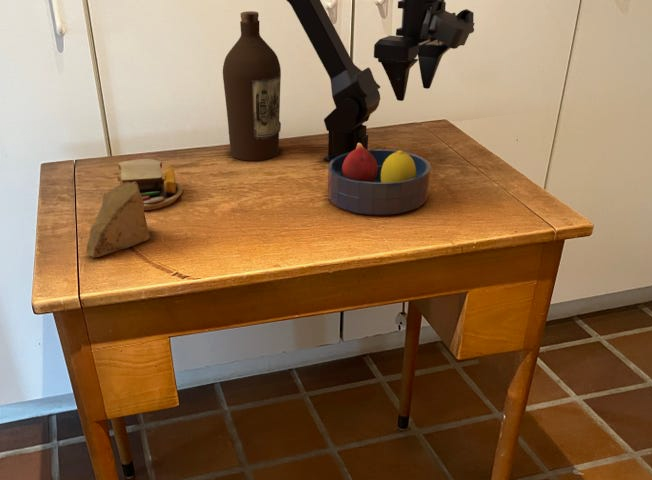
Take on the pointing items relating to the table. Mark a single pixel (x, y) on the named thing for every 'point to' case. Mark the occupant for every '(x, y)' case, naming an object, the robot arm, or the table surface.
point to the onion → (360, 165)
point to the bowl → (378, 188)
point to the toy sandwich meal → (150, 182)
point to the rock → (118, 221)
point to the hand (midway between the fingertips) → (413, 94)
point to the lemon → (398, 168)
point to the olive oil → (252, 94)
